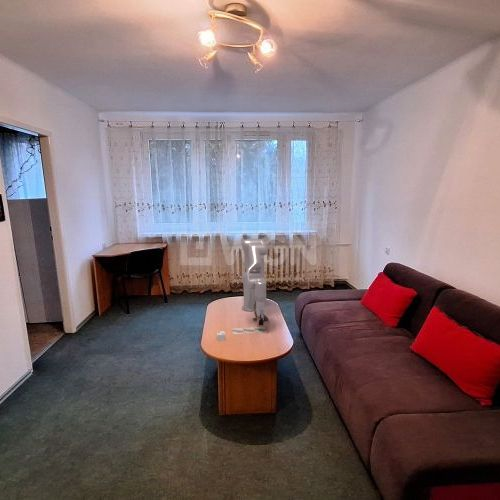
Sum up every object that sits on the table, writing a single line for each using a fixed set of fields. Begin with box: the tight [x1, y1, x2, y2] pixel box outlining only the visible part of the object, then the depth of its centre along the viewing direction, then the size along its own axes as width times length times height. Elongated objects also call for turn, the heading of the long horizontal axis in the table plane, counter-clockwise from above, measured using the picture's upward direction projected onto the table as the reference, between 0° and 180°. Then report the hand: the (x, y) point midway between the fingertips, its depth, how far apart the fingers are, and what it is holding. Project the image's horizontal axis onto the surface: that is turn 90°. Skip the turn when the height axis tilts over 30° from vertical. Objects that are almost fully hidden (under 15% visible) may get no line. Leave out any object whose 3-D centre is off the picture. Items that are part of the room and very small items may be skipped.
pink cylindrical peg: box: [256, 316, 265, 327], centre depth 223 cm, size 4×4×12 cm
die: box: [216, 330, 226, 342], centre depth 211 cm, size 5×5×5 cm
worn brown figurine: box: [252, 301, 269, 323], centre depth 240 cm, size 12×6×18 cm, turn 94°
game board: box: [231, 326, 269, 335], centre depth 224 cm, size 11×25×1 cm, turn 98°
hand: (260, 323), depth 223 cm, fingers closed on pink cylindrical peg, 4 cm apart
